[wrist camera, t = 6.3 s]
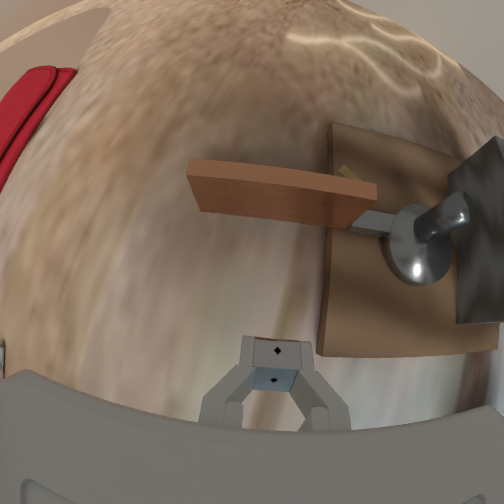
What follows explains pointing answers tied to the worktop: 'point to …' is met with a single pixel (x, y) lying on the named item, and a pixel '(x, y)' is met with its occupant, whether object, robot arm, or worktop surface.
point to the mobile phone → (1, 362)
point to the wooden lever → (336, 211)
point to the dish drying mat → (27, 111)
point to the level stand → (381, 277)
